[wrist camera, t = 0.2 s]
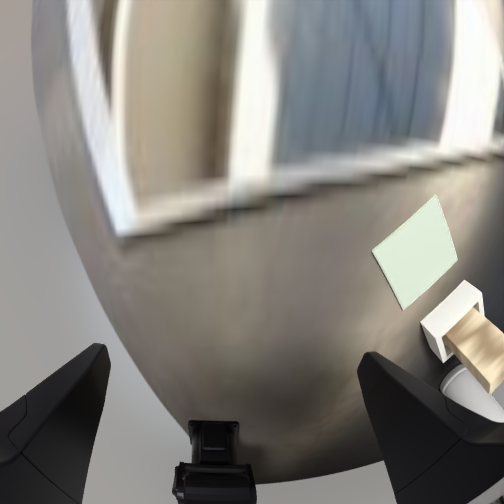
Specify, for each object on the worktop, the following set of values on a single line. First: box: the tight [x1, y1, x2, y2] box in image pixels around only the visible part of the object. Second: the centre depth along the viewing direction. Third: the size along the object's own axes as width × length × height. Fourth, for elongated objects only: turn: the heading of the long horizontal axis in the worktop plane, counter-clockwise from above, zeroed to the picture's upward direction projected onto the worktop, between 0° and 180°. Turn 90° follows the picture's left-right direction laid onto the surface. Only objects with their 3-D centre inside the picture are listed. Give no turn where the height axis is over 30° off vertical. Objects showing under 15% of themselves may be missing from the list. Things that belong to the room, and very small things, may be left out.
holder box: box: [420, 280, 484, 363], centre depth 28 cm, size 8×7×4 cm
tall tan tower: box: [442, 307, 504, 395], centre depth 23 cm, size 5×4×12 cm
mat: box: [372, 195, 458, 310], centre depth 25 cm, size 9×9×1 cm
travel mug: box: [440, 364, 504, 422], centre depth 26 cm, size 6×7×20 cm
